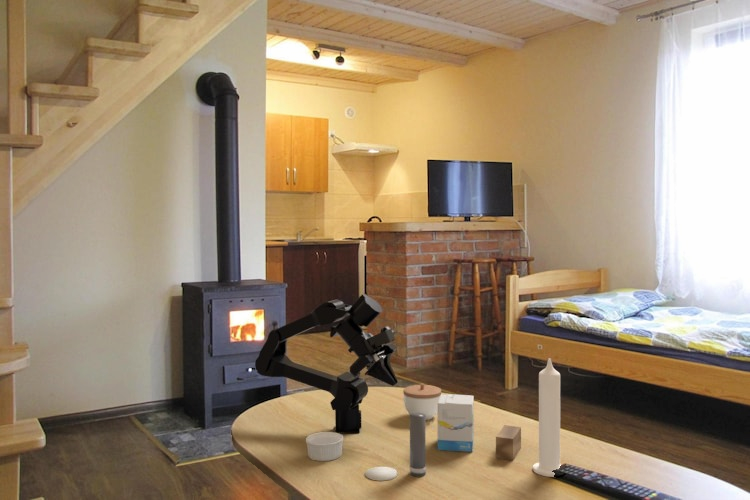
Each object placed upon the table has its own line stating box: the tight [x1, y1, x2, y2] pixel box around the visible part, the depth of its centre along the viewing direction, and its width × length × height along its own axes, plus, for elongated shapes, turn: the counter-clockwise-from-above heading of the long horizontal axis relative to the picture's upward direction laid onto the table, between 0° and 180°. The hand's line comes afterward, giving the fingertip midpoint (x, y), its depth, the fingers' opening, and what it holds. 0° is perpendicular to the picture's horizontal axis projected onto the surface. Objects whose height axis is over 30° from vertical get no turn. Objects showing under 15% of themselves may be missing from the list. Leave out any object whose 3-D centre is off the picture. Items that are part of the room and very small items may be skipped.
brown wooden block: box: [495, 425, 522, 461], centre depth 149 cm, size 4×9×5 cm, turn 156°
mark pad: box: [364, 466, 398, 482], centre depth 138 cm, size 7×7×1 cm
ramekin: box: [305, 431, 344, 462], centre depth 149 cm, size 9×9×4 cm
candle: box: [532, 357, 562, 478], centre depth 138 cm, size 7×7×25 cm
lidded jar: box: [402, 383, 442, 421], centre depth 178 cm, size 11×11×9 cm
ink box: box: [437, 393, 475, 453], centre depth 155 cm, size 8×8×12 cm
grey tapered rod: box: [409, 413, 427, 478], centre depth 137 cm, size 4×4×13 cm
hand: (395, 384), depth 161 cm, fingers closed
